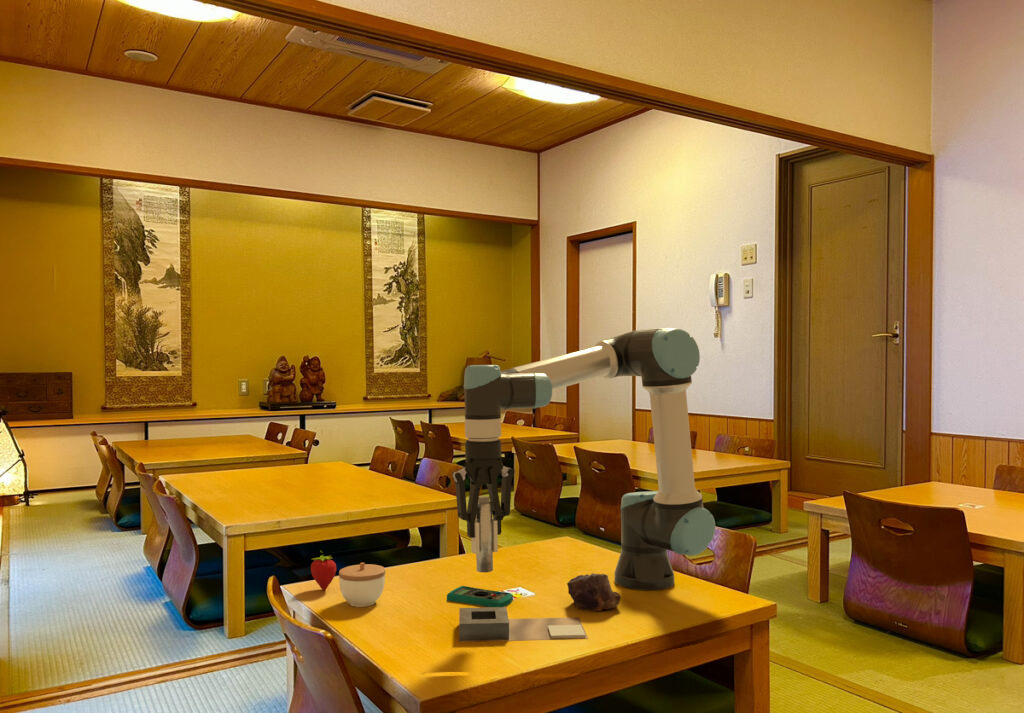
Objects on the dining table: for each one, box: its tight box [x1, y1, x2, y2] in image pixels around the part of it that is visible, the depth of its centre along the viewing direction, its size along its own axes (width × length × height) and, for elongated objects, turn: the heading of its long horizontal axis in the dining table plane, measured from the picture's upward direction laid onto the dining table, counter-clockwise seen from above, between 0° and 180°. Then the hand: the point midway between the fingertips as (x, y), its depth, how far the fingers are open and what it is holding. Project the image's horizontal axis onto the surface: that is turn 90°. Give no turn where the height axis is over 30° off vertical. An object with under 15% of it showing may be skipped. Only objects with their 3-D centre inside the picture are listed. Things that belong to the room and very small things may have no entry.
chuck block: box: [458, 606, 509, 641], centre depth 159 cm, size 10×10×3 cm
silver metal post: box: [475, 495, 494, 573], centre depth 160 cm, size 3×3×15 cm
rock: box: [566, 573, 622, 612], centre depth 175 cm, size 12×9×10 cm
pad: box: [548, 625, 585, 639], centre depth 158 cm, size 7×6×1 cm
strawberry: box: [310, 550, 337, 591], centre depth 191 cm, size 6×8×10 cm
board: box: [458, 616, 589, 643], centre depth 161 cm, size 26×13×1 cm, turn 93°
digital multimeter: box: [446, 585, 514, 607], centre depth 181 cm, size 7×15×3 cm, turn 64°
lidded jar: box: [338, 562, 386, 608], centre depth 181 cm, size 11×11×9 cm
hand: (484, 551), depth 160 cm, fingers closed on silver metal post, 3 cm apart
